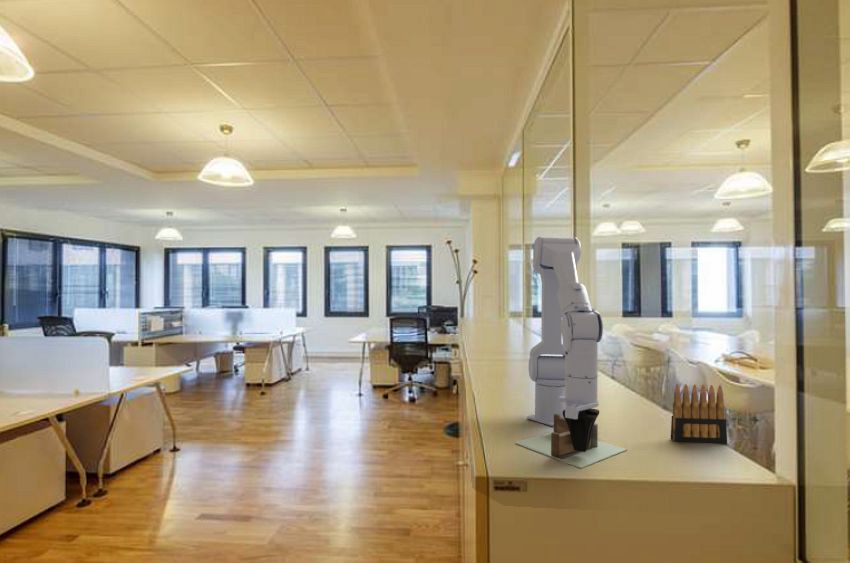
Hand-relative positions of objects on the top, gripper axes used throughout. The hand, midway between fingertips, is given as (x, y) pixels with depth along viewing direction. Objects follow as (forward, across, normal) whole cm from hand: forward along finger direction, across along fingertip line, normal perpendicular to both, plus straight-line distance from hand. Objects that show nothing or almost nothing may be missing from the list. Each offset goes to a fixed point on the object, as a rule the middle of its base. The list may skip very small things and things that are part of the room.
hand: (580, 449), depth 80 cm
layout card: (+2, -5, -3) cm, 6 cm away
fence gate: (+1, -1, -2) cm, 3 cm away
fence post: (+1, -9, -3) cm, 9 cm away
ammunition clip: (+2, -24, +18) cm, 31 cm away
